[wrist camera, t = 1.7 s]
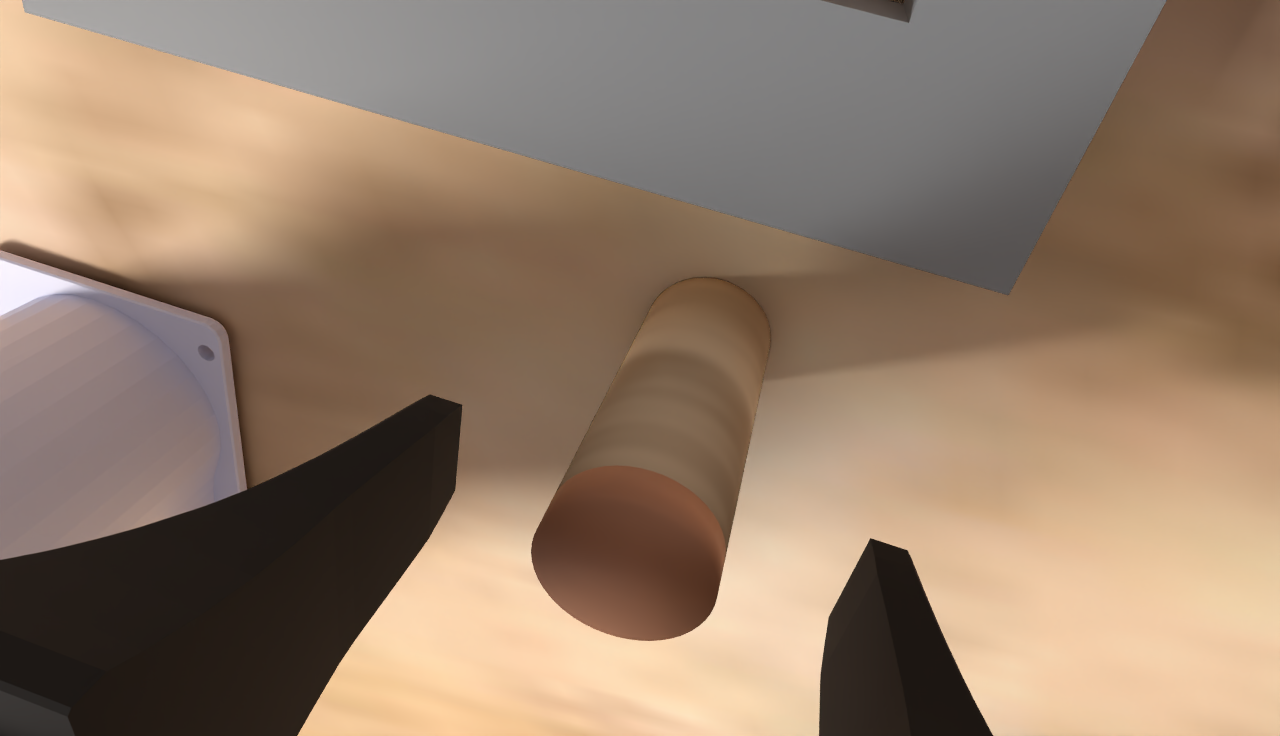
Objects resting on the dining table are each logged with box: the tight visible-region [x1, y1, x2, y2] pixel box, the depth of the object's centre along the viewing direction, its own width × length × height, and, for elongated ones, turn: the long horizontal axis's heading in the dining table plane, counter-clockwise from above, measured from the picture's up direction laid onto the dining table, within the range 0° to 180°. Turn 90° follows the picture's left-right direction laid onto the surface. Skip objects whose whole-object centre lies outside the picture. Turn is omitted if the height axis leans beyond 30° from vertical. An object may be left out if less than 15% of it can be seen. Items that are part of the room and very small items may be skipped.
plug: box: [531, 278, 771, 641], centre depth 15 cm, size 3×3×8 cm
